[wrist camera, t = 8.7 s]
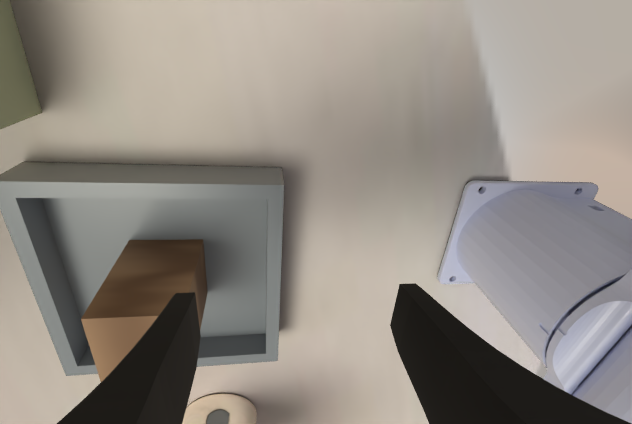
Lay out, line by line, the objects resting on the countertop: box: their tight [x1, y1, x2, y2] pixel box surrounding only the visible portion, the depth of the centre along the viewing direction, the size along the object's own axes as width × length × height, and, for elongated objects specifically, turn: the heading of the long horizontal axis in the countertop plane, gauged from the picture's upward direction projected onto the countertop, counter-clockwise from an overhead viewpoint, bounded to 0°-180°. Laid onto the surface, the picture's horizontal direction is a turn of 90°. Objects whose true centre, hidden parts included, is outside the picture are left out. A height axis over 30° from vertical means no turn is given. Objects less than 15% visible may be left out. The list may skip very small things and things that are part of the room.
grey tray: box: [0, 162, 284, 376], centre depth 20 cm, size 13×13×2 cm
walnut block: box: [81, 239, 208, 382], centre depth 18 cm, size 4×4×6 cm
